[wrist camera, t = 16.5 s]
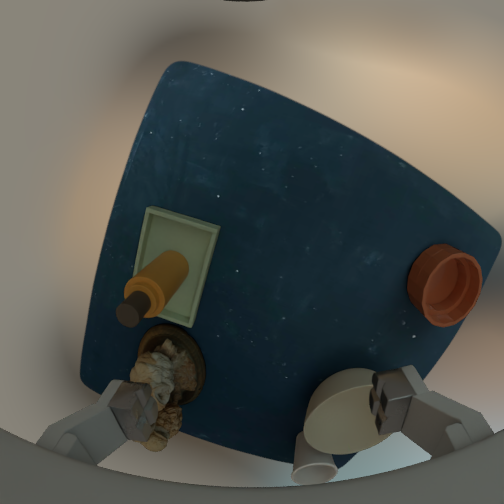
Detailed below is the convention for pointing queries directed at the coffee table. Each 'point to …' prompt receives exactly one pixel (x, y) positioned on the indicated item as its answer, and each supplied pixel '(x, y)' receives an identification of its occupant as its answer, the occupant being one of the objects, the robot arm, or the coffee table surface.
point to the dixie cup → (311, 464)
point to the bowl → (342, 414)
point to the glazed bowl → (444, 284)
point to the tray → (186, 243)
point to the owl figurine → (168, 377)
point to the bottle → (152, 288)
